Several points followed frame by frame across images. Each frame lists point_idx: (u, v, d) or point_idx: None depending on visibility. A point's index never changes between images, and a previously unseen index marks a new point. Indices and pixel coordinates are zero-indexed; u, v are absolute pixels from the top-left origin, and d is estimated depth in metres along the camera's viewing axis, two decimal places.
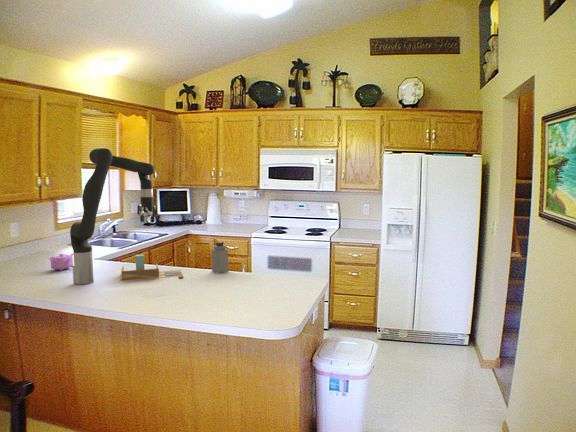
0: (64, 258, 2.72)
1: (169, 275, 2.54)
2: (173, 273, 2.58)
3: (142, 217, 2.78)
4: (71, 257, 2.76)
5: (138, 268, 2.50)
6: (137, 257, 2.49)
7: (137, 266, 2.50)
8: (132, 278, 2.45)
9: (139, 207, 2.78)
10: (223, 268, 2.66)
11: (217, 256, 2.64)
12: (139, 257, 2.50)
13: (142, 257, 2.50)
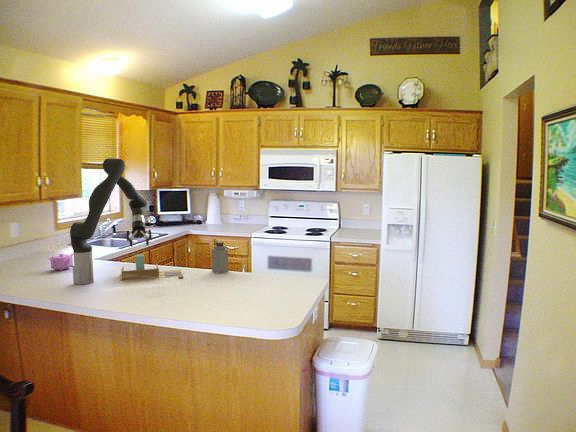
0: (64, 258, 2.72)
1: (169, 275, 2.54)
2: (173, 273, 2.58)
3: None
4: (71, 257, 2.76)
5: (138, 268, 2.50)
6: (137, 257, 2.49)
7: (137, 266, 2.50)
8: (132, 278, 2.45)
9: (128, 232, 2.65)
10: (223, 268, 2.66)
11: (217, 256, 2.64)
12: (139, 257, 2.50)
13: (142, 257, 2.50)
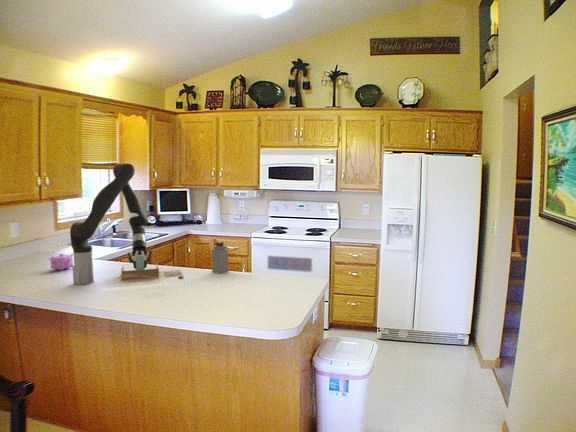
0: (64, 258, 2.72)
1: (169, 275, 2.54)
2: (173, 273, 2.58)
3: (135, 263, 2.51)
4: (71, 257, 2.76)
5: (138, 268, 2.50)
6: (137, 257, 2.49)
7: (137, 266, 2.50)
8: (132, 278, 2.45)
9: (129, 254, 2.54)
10: (223, 268, 2.66)
11: (217, 256, 2.64)
12: (139, 257, 2.50)
13: (142, 257, 2.50)
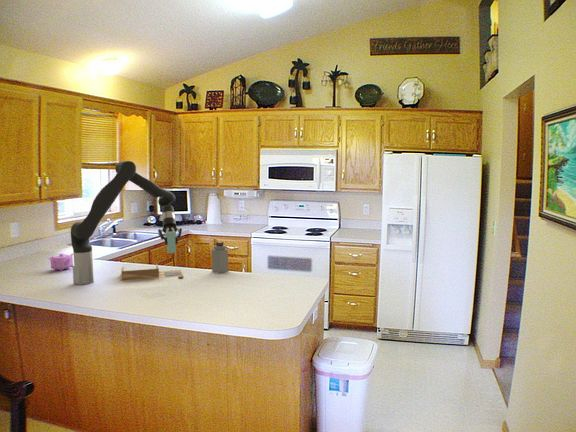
0: (64, 258, 2.72)
1: (169, 275, 2.54)
2: (173, 273, 2.58)
3: None
4: (71, 257, 2.76)
5: (169, 244, 2.55)
6: (168, 233, 2.54)
7: (168, 242, 2.54)
8: (132, 278, 2.45)
9: (160, 231, 2.58)
10: (223, 268, 2.66)
11: (217, 256, 2.64)
12: (170, 233, 2.54)
13: (173, 233, 2.55)
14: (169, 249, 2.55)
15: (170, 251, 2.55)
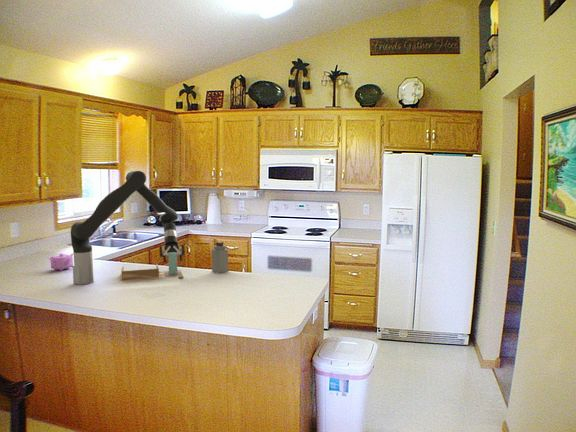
0: (64, 258, 2.72)
1: (169, 275, 2.54)
2: None
3: (165, 257, 2.57)
4: (71, 257, 2.76)
5: (171, 265, 2.56)
6: (170, 254, 2.55)
7: (170, 263, 2.55)
8: (132, 278, 2.45)
9: None
10: (223, 268, 2.66)
11: (217, 256, 2.64)
12: (172, 254, 2.55)
13: (175, 254, 2.56)
14: (170, 270, 2.56)
15: (171, 272, 2.56)
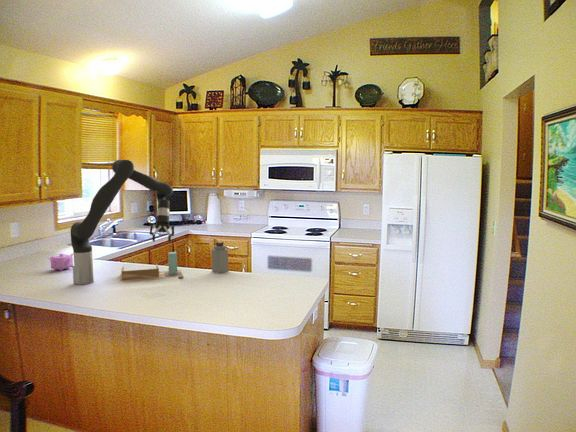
0: (64, 258, 2.72)
1: (169, 275, 2.54)
2: None
3: (154, 237, 2.68)
4: (71, 257, 2.76)
5: (171, 265, 2.56)
6: (170, 254, 2.55)
7: (170, 263, 2.55)
8: (132, 278, 2.45)
9: (152, 226, 2.69)
10: (223, 268, 2.66)
11: (217, 256, 2.64)
12: (172, 254, 2.55)
13: (175, 254, 2.56)
14: (170, 270, 2.56)
15: (171, 272, 2.56)
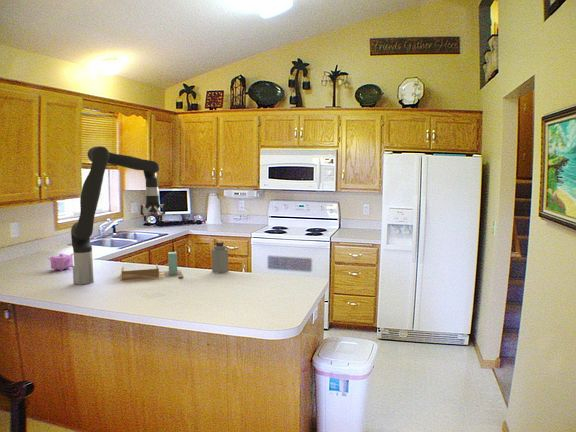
0: (64, 258, 2.72)
1: (169, 275, 2.54)
2: None
3: None
4: (71, 257, 2.76)
5: (171, 265, 2.56)
6: (170, 254, 2.55)
7: (170, 263, 2.55)
8: (132, 278, 2.45)
9: (142, 207, 2.65)
10: (223, 268, 2.66)
11: (217, 256, 2.64)
12: (172, 254, 2.55)
13: (175, 254, 2.56)
14: (170, 270, 2.56)
15: (171, 272, 2.56)
